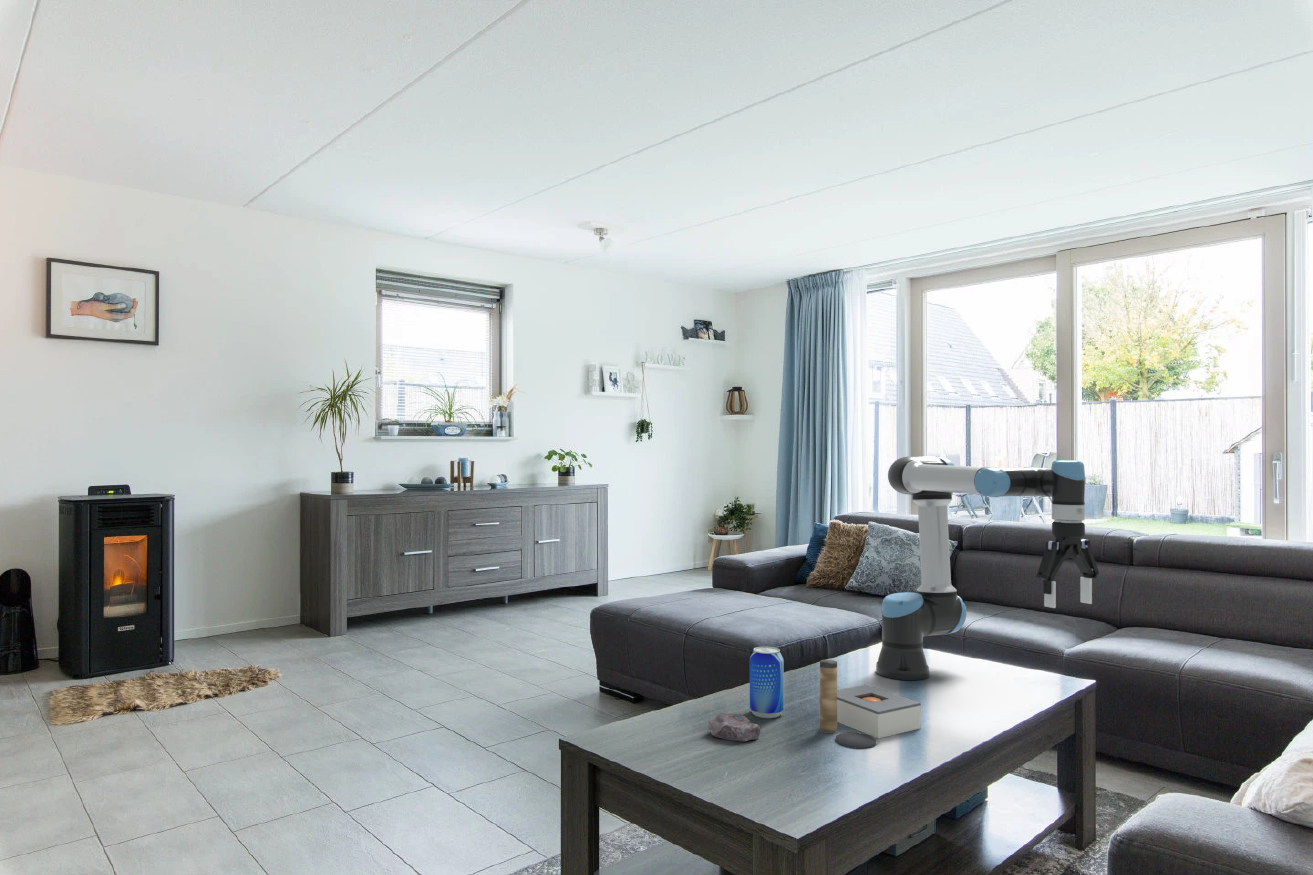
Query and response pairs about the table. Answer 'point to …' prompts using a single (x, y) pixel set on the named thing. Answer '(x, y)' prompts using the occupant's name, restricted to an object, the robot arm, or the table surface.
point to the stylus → (828, 696)
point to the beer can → (766, 682)
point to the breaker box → (877, 711)
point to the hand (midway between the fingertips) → (1068, 605)
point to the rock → (733, 727)
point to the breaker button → (871, 699)
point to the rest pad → (856, 740)
